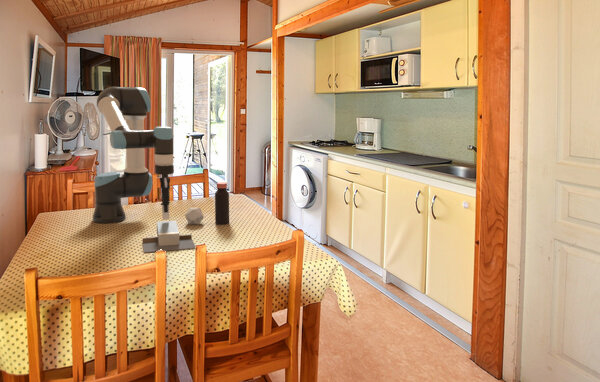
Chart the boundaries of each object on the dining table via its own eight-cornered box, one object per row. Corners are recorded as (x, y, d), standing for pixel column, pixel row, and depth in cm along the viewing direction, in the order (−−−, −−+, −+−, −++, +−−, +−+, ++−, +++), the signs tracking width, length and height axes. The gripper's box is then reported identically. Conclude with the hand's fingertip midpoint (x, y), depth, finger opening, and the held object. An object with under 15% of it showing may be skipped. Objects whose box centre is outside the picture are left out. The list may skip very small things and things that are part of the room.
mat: (142, 243, 194) (142, 242, 194) (191, 239, 201) (191, 238, 201) (144, 253, 181) (143, 252, 181) (196, 248, 188) (196, 247, 188)
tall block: (156, 221, 198) (158, 234, 188) (176, 220, 201) (179, 233, 190) (156, 232, 200) (158, 245, 190) (176, 231, 203) (179, 244, 192)
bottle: (222, 225, 225) (222, 184, 221) (212, 223, 228) (211, 183, 225) (232, 222, 231) (231, 182, 227) (221, 220, 234) (221, 181, 231)
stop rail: (142, 242, 195) (142, 237, 195) (191, 238, 202) (191, 234, 202) (142, 243, 194) (142, 238, 194) (191, 239, 201) (191, 234, 201)
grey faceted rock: (194, 228, 222) (205, 211, 224) (179, 218, 223) (191, 201, 224) (197, 229, 230) (208, 213, 232) (183, 220, 231) (194, 204, 232)
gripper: (175, 166, 190) (176, 222, 194) (172, 162, 202) (173, 215, 206) (155, 166, 187) (157, 223, 192) (154, 162, 199) (155, 216, 204)
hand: (165, 219), depth 199 cm, fingers closed
